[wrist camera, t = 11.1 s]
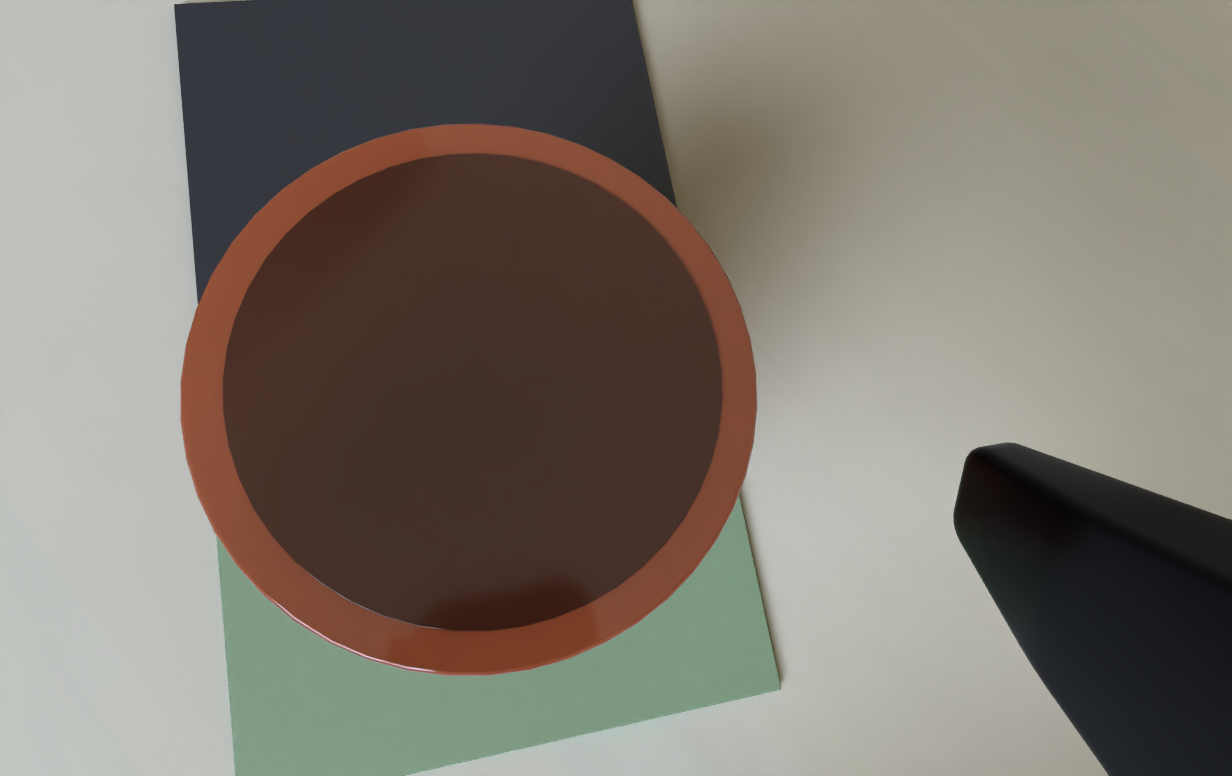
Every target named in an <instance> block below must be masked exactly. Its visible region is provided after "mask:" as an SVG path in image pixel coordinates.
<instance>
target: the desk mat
mask: <svg viewBox="0 0 1232 776" xmlns="http://www.w3.org/2000/svg"><path fill="white" fill-rule="evenodd" d="M174 9H175V21H176V34H177V47H178V59H179V72H180V84H181V97H182V109H183V122H184V134H185V147H186V160H187V172H188V185H189V197H190V210H191V222H192V235H193V247H194V260H195V273H196V285H197V298H198V304H199V302H200V300H201V298H202V295H203V293H204V291H205V289H206V287H207V284H208V282H209V280H210V278H211V276H212V274H213V272H214V270H215V269H216V267H217V266H218V264H219V262H220V261H221V259H222V258H223V256H224V254H225V253H226V251H227V250H228V248H229V246H230V245H231V243H232V242H233V241H234V239H235V238H236V237H237V236H238V235H239V233H240V232H241V231H242V230H243V229H244V227H245V226H246V225H247V224H248V223H249V221H250V220H251V219H252V218H253V217H254V215H255V214H256V213H257V212H258V211H260V210H261V209H262V208H263V207H264V206H265V205H266V204H267V203H268V202H269V201H270V200H271V199H272V198H274V197H275V196H276V195H277V194H278V193H279V192H280V191H281V190H282V189H284V188H285V187H286V186H288V185H289V184H291V183H292V182H293V181H295V180H296V179H298V178H299V177H300V176H302V175H303V174H304V173H306V172H307V171H309V170H310V169H312V168H313V167H315V166H317V165H319V164H321V163H323V162H324V161H326V160H328V159H330V158H332V157H334V156H335V155H337V154H339V153H341V152H343V151H345V150H348V149H350V148H353V147H355V146H358V145H360V144H363V143H365V142H368V141H370V140H373V139H375V138H379V137H383V136H387V135H390V134H394V133H398V132H402V131H406V130H409V129H416V128H423V127H430V126H437V125H444V124H490V125H501V126H512V127H518V128H523V129H528V130H533V131H537V132H542V133H547V134H550V135H553V136H556V137H559V138H562V139H565V140H568V141H571V142H574V143H577V144H580V145H582V146H585V147H587V148H589V149H591V150H593V151H595V152H597V153H600V154H602V155H604V156H606V157H608V158H610V159H612V160H614V161H615V162H617V163H618V164H620V165H622V166H623V167H625V168H627V169H628V170H630V171H631V172H633V173H635V174H636V175H638V176H640V177H641V178H642V179H643V180H645V181H646V182H647V183H648V184H650V185H651V186H652V187H653V188H655V189H656V190H657V191H658V192H660V193H661V194H662V195H664V196H665V197H666V198H667V199H668V200H669V201H670V202H671V203H672V204H673V205H674V206H675V207H676V202H675V198H674V193H673V188H672V184H671V179H670V175H669V170H668V165H667V161H666V156H665V152H664V147H663V142H662V138H661V133H660V128H659V124H658V119H657V115H656V110H655V105H654V101H653V96H652V92H651V87H650V82H649V78H648V73H647V69H646V64H645V59H644V55H643V50H642V46H641V41H640V36H639V32H638V27H637V23H636V18H635V13H634V9H633V4H632V0H248V1H229V2H210V3H190V4H174ZM676 208H677V207H676ZM217 549H218V561H219V574H220V586H221V599H222V612H223V624H224V637H225V649H226V662H227V674H228V687H229V699H230V712H231V725H232V737H233V750H234V762H235V775H236V776H404V775H409V774H413V773H418V772H422V771H426V770H431V769H435V768H439V767H444V766H448V765H453V764H457V763H461V762H466V761H470V760H474V759H479V758H483V757H488V756H492V755H496V754H501V753H505V752H509V751H514V750H518V749H523V748H527V747H531V746H536V745H540V744H544V743H549V742H553V741H557V740H562V739H566V738H571V737H575V736H579V735H584V734H588V733H592V732H597V731H601V730H606V729H610V728H614V727H619V726H623V725H627V724H632V723H636V722H641V721H645V720H649V719H654V718H658V717H662V716H667V715H671V714H676V713H680V712H684V711H689V710H693V709H697V708H702V707H706V706H711V705H715V704H719V703H724V702H728V701H732V700H737V699H741V698H746V697H750V696H754V695H759V694H763V693H767V692H772V691H776V690H780V689H781V686H780V681H779V677H778V672H777V667H776V663H775V658H774V654H773V649H772V644H771V640H770V635H769V631H768V626H767V621H766V617H765V612H764V608H763V603H762V598H761V594H760V589H759V585H758V580H757V575H756V571H755V566H754V562H753V557H752V552H751V548H750V543H749V538H748V534H747V529H746V525H745V520H744V515H743V511H742V506H741V502H740V497H739V496H738V498H737V501H736V504H735V506H734V509H733V511H732V513H731V515H730V517H729V519H728V520H727V522H726V524H725V526H724V528H723V530H722V532H721V533H720V535H719V537H718V539H717V541H716V543H715V544H714V545H713V547H712V548H711V549H710V551H709V552H708V554H707V555H706V556H705V558H704V559H703V561H702V562H701V563H700V565H699V566H698V567H697V569H696V570H695V572H694V573H693V574H692V575H691V576H690V577H689V578H688V579H687V580H686V581H685V582H684V583H683V584H682V585H681V586H680V587H679V588H678V590H677V591H676V592H675V593H674V594H673V595H672V596H671V597H670V598H669V599H668V600H667V601H665V602H664V603H663V604H662V605H661V606H659V607H658V608H657V609H656V610H654V611H653V612H652V613H651V614H649V615H648V616H647V617H646V618H644V619H643V620H642V621H641V622H639V623H638V624H636V625H635V626H633V627H631V628H630V629H628V630H627V631H625V632H623V633H622V634H620V635H618V636H617V637H615V638H613V639H612V640H610V641H608V642H607V643H605V644H603V645H600V646H598V647H596V648H594V649H591V650H589V651H587V652H584V653H582V654H580V655H577V656H575V657H573V658H571V659H568V660H565V661H561V662H558V663H554V664H550V665H547V666H543V667H540V668H536V669H533V670H529V671H522V672H515V673H508V674H501V675H493V676H442V675H435V674H427V673H420V672H412V671H406V670H403V669H399V668H395V667H392V666H388V665H385V664H381V663H377V662H374V661H370V660H367V659H365V658H362V657H360V656H358V655H355V654H353V653H351V652H348V651H346V650H344V649H342V648H339V647H337V646H335V645H332V644H330V643H328V642H327V641H325V640H323V639H322V638H320V637H319V636H317V635H315V634H314V633H312V632H310V631H309V630H307V629H306V628H304V627H302V626H301V625H299V624H297V623H296V622H294V621H293V620H292V619H291V618H290V617H288V616H287V615H286V614H285V613H284V612H282V611H281V610H280V609H279V608H278V607H276V606H275V605H274V604H273V603H272V602H270V601H269V600H268V599H267V598H266V597H264V596H263V595H262V594H261V592H260V591H259V590H258V589H257V588H256V587H255V586H254V585H253V584H252V582H251V581H250V580H249V579H248V578H247V577H246V576H245V575H244V574H243V572H242V571H241V570H240V569H239V568H238V567H237V566H236V564H235V563H234V561H233V560H232V558H231V557H230V555H229V554H228V552H227V551H226V549H225V548H224V546H223V545H222V543H221V542H220V540H219V539H218V537H217Z"/></svg>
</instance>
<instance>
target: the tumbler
mask: <svg viewBox="0 0 1232 776" xmlns="http://www.w3.org/2000/svg"><path fill="white" fill-rule="evenodd" d="M756 414H757V390H756V371H755V364H754V358H753V352H752V346H751V340H750V337H749V333H748V330H747V327H746V323H745V320H744V316H743V313H742V310H741V307H740V304H739V302H738V300H737V298H736V295H735V293H734V291H733V288H732V286H731V284H730V282H729V279H728V277H727V275H726V274H725V272H724V270H723V269H722V267H721V265H720V263H719V262H718V260H717V258H716V257H715V255H714V253H713V252H712V250H711V248H710V247H709V246H708V244H707V243H706V242H705V240H704V239H703V238H702V237H701V235H700V234H699V233H698V231H697V230H696V229H695V228H694V226H693V225H692V224H691V223H690V221H689V220H688V219H687V218H686V217H685V216H684V215H683V214H682V213H681V212H680V211H679V210H678V209H677V208H676V207H675V206H674V205H673V204H672V203H671V202H670V201H669V200H668V199H667V198H666V197H665V196H664V195H662V194H661V193H660V192H658V191H657V190H656V189H655V188H653V187H652V186H651V185H650V184H648V183H647V182H646V181H645V180H643V179H642V178H641V177H640V176H638V175H636V174H635V173H633V172H631V171H630V170H628V169H627V168H625V167H623V166H622V165H620V164H618V163H617V162H615V161H614V160H612V159H610V158H608V157H606V156H604V155H602V154H600V153H597V152H595V151H593V150H591V149H589V148H587V147H585V146H582V145H580V144H577V143H574V142H571V141H568V140H565V139H562V138H559V137H556V136H553V135H550V134H547V133H542V132H537V131H533V130H528V129H523V128H518V127H512V126H501V125H490V124H444V125H437V126H430V127H423V128H416V129H409V130H406V131H402V132H398V133H394V134H390V135H387V136H383V137H379V138H375V139H373V140H370V141H368V142H365V143H363V144H360V145H358V146H355V147H353V148H350V149H348V150H345V151H343V152H341V153H339V154H337V155H335V156H334V157H332V158H330V159H328V160H326V161H324V162H323V163H321V164H319V165H317V166H315V167H313V168H312V169H310V170H309V171H307V172H306V173H304V174H303V175H302V176H300V177H299V178H298V179H296V180H295V181H293V182H292V183H291V184H289V185H288V186H286V187H285V188H284V189H282V190H281V191H280V192H279V193H278V194H277V195H276V196H275V197H274V198H272V199H271V200H270V201H269V202H268V203H267V204H266V205H265V206H264V207H263V208H262V209H261V210H260V211H258V212H257V213H256V214H255V215H254V217H253V218H252V219H251V220H250V221H249V223H248V224H247V225H246V226H245V227H244V229H243V230H242V231H241V232H240V233H239V235H238V236H237V237H236V238H235V239H234V241H233V242H232V243H231V245H230V246H229V248H228V250H227V251H226V253H225V254H224V256H223V258H222V259H221V261H220V262H219V264H218V266H217V267H216V269H215V270H214V272H213V274H212V276H211V278H210V280H209V282H208V284H207V287H206V289H205V291H204V293H203V295H202V298H201V300H200V302H199V304H198V307H197V309H196V312H195V316H194V319H193V323H192V326H191V330H190V333H189V336H188V340H187V343H186V348H185V355H184V362H183V369H182V376H181V427H182V434H183V441H184V447H185V454H186V460H187V463H188V467H189V470H190V473H191V477H192V480H193V483H194V487H195V490H196V493H197V497H198V499H199V501H200V503H201V505H202V507H203V509H204V511H205V514H206V516H207V518H208V520H209V522H210V524H211V526H212V528H213V531H214V533H215V534H216V536H217V537H218V539H219V540H220V542H221V543H222V545H223V546H224V548H225V549H226V551H227V552H228V554H229V555H230V557H231V558H232V560H233V561H234V563H235V564H236V566H237V567H238V568H239V569H240V570H241V571H242V572H243V574H244V575H245V576H246V577H247V578H248V579H249V580H250V581H251V582H252V584H253V585H254V586H255V587H256V588H257V589H258V590H259V591H260V592H261V594H262V595H263V596H264V597H266V598H267V599H268V600H269V601H270V602H272V603H273V604H274V605H275V606H276V607H278V608H279V609H280V610H281V611H282V612H284V613H285V614H286V615H287V616H288V617H290V618H291V619H292V620H293V621H294V622H296V623H297V624H299V625H301V626H302V627H304V628H306V629H307V630H309V631H310V632H312V633H314V634H315V635H317V636H319V637H320V638H322V639H323V640H325V641H327V642H328V643H330V644H332V645H335V646H337V647H339V648H342V649H344V650H346V651H348V652H351V653H353V654H355V655H358V656H360V657H362V658H365V659H367V660H370V661H374V662H377V663H381V664H385V665H388V666H392V667H395V668H399V669H403V670H406V671H412V672H420V673H427V674H435V675H442V676H493V675H501V674H508V673H515V672H522V671H529V670H533V669H536V668H540V667H543V666H547V665H550V664H554V663H558V662H561V661H565V660H568V659H571V658H573V657H575V656H577V655H580V654H582V653H584V652H587V651H589V650H591V649H594V648H596V647H598V646H600V645H603V644H605V643H607V642H608V641H610V640H612V639H613V638H615V637H617V636H618V635H620V634H622V633H623V632H625V631H627V630H628V629H630V628H631V627H633V626H635V625H636V624H638V623H639V622H641V621H642V620H643V619H644V618H646V617H647V616H648V615H649V614H651V613H652V612H653V611H654V610H656V609H657V608H658V607H659V606H661V605H662V604H663V603H664V602H665V601H667V600H668V599H669V598H670V597H671V596H672V595H673V594H674V593H675V592H676V591H677V590H678V588H679V587H680V586H681V585H682V584H683V583H684V582H685V581H686V580H687V579H688V578H689V577H690V576H691V575H692V574H693V573H694V572H695V570H696V569H697V567H698V566H699V565H700V563H701V562H702V561H703V559H704V558H705V556H706V555H707V554H708V552H709V551H710V549H711V548H712V547H713V545H714V544H715V543H716V541H717V539H718V537H719V535H720V533H721V532H722V530H723V528H724V526H725V524H726V522H727V520H728V519H729V517H730V515H731V513H732V511H733V509H734V506H735V504H736V501H737V498H738V496H739V493H740V490H741V488H742V485H743V482H744V480H745V477H746V473H747V469H748V465H749V460H750V456H751V452H752V448H753V443H754V434H755V424H756Z"/></svg>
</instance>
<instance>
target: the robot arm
mask: <svg viewBox="0 0 1232 776" xmlns="http://www.w3.org/2000/svg"><path fill="white" fill-rule="evenodd" d="M953 516H954V526H955V530H956V533H957V536H958V538H959V540H960V542H961V544H962V545H963V547H964V549H965V551H966V552H967V554H968V556H969V558H970V559H971V561H972V563H973V565H974V566H975V568H976V570H977V572H978V573H979V575H980V577H981V579H982V580H983V582H984V584H985V586H986V587H987V589H988V591H989V593H990V594H991V596H992V598H993V600H994V601H995V603H996V605H997V607H998V608H999V610H1000V612H1001V614H1002V615H1003V617H1004V619H1005V621H1006V622H1007V624H1008V626H1009V628H1010V629H1011V631H1012V633H1013V634H1014V636H1015V638H1016V640H1017V641H1018V643H1019V645H1020V647H1021V648H1022V650H1023V652H1024V653H1025V655H1026V656H1027V658H1028V660H1029V661H1030V663H1031V665H1032V666H1033V668H1034V669H1035V671H1036V672H1037V674H1038V675H1039V677H1040V678H1041V680H1042V681H1043V683H1044V684H1045V686H1046V687H1047V689H1048V690H1049V692H1050V693H1051V694H1052V696H1053V697H1054V699H1055V700H1056V701H1057V703H1058V704H1059V706H1060V707H1061V709H1062V710H1063V711H1064V713H1065V714H1066V716H1067V717H1068V718H1069V720H1070V721H1071V723H1072V724H1073V725H1074V727H1075V728H1076V730H1077V731H1078V733H1079V734H1080V735H1081V737H1082V738H1083V740H1084V741H1085V742H1086V744H1087V745H1088V747H1089V748H1090V749H1091V751H1092V752H1093V754H1094V755H1095V756H1096V758H1097V759H1098V761H1099V762H1100V764H1101V765H1102V766H1103V768H1104V769H1105V771H1106V772H1107V773H1108V775H1109V776H1232V520H1230V519H1227V518H1224V517H1222V516H1219V515H1216V514H1213V513H1210V512H1208V511H1205V510H1202V509H1199V508H1196V507H1193V506H1191V505H1188V504H1185V503H1182V502H1179V501H1177V500H1174V499H1171V498H1168V497H1165V496H1163V495H1160V494H1157V493H1154V492H1151V491H1149V490H1146V489H1143V488H1140V487H1137V486H1134V485H1132V484H1129V483H1126V482H1123V481H1120V480H1118V479H1115V478H1112V477H1109V476H1106V475H1104V474H1101V473H1098V472H1095V471H1092V470H1089V469H1087V468H1084V467H1081V466H1078V465H1075V464H1073V463H1070V462H1067V461H1064V460H1061V459H1059V458H1056V457H1053V456H1050V455H1047V454H1045V453H1042V452H1039V451H1036V450H1033V449H1030V448H1028V447H1025V446H1022V445H1019V444H1016V443H1001V444H995V445H989V446H984V447H978V448H976V449H974V450H972V451H971V452H970V453H969V455H968V456H967V457H966V460H965V463H964V468H963V472H962V477H961V481H960V486H959V490H958V495H957V499H956V504H955V508H954V514H953Z"/></svg>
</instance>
